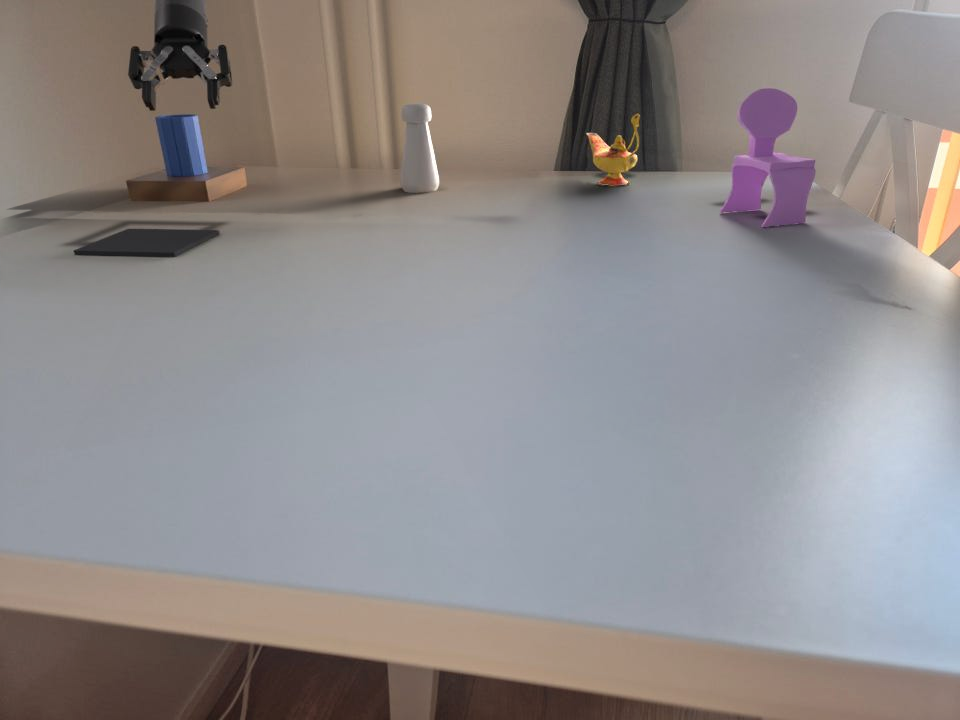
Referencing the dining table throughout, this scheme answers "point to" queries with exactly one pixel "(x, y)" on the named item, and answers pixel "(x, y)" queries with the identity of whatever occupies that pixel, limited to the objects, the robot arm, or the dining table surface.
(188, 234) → the mat
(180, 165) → the blue faceted cup
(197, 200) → the platform
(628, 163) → the magic lamp
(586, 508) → the dining table surface
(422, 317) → the dining table surface
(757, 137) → the toy chair
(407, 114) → the salt shaker
